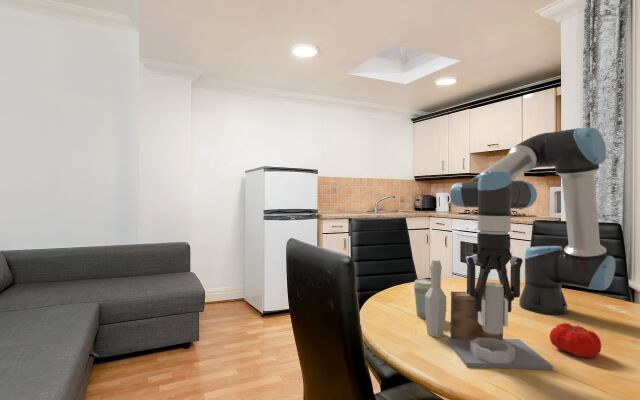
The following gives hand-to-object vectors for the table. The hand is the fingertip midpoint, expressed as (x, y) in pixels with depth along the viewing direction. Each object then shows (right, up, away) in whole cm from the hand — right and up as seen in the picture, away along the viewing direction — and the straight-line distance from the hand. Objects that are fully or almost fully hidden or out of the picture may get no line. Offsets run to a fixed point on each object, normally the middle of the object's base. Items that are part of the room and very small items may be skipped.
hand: (492, 324), depth 91 cm
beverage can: (0, -2, 0) cm, 2 cm away
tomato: (+24, -9, +5) cm, 26 cm away
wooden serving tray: (0, -9, +9) cm, 12 cm away
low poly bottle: (-9, -9, +17) cm, 21 cm away
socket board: (+2, -9, +3) cm, 9 cm away
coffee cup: (-7, -9, +32) cm, 34 cm away
